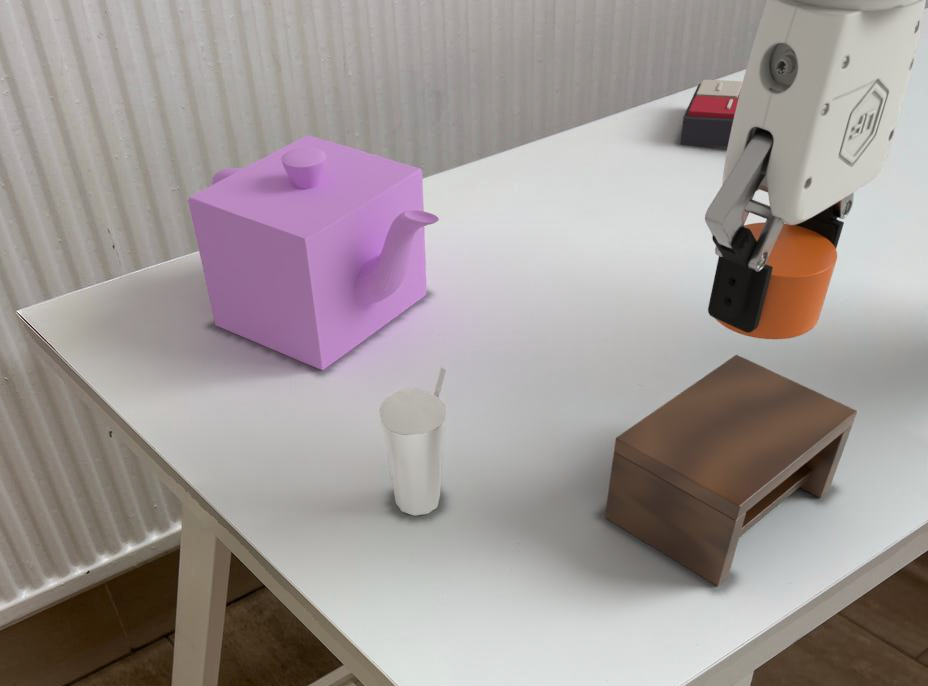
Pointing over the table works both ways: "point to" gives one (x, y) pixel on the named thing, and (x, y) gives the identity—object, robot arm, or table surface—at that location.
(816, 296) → the orange cylinder puck
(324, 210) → the teapot
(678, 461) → the brown wooden step stool
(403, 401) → the milkshake
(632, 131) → the table surface
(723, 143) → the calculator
